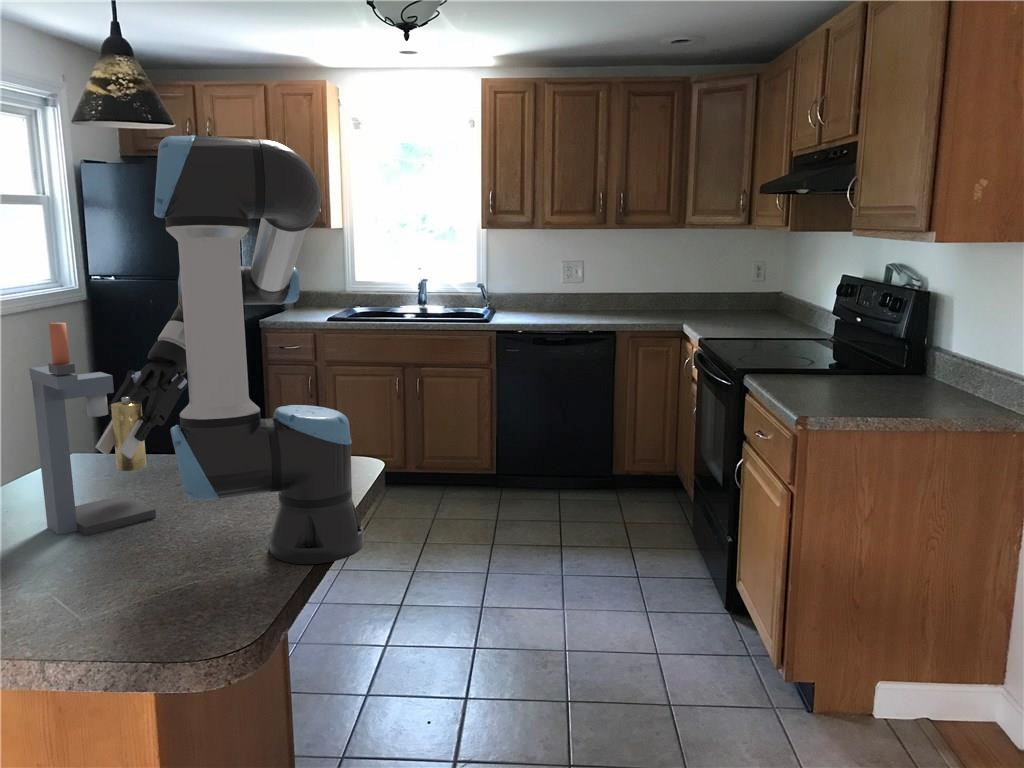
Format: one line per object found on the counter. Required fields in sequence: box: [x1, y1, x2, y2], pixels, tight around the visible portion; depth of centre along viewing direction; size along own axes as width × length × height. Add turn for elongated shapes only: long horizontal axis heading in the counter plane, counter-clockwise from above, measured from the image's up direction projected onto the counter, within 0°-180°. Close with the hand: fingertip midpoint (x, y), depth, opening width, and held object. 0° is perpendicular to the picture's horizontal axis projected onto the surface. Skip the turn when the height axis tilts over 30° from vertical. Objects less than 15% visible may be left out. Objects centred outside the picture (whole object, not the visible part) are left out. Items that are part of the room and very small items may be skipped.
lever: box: [47, 322, 76, 375], centre depth 127 cm, size 4×3×8 cm
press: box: [28, 365, 157, 536], centre depth 139 cm, size 15×15×28 cm
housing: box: [111, 397, 147, 472], centre depth 147 cm, size 5×5×13 cm
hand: (113, 452), depth 145 cm, fingers closed on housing, 5 cm apart
